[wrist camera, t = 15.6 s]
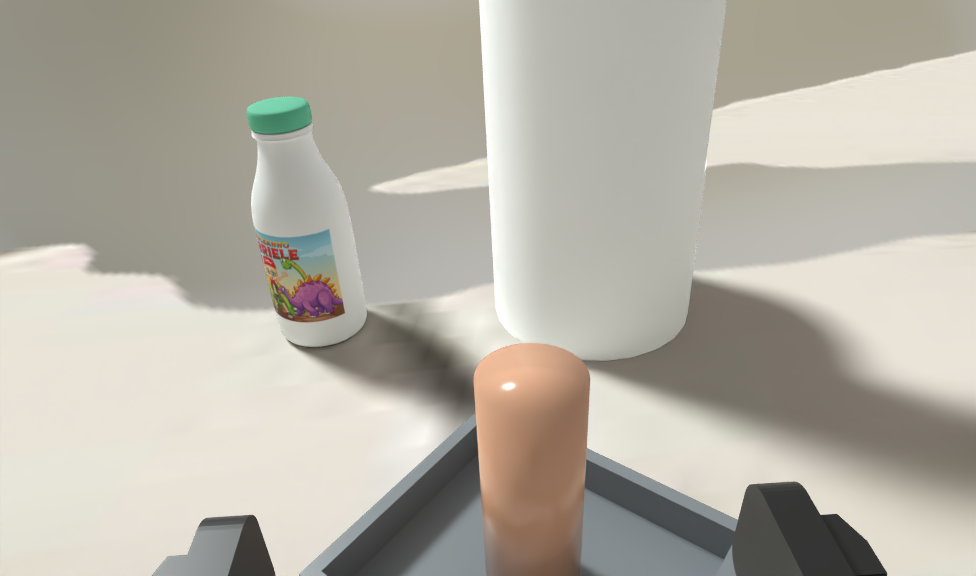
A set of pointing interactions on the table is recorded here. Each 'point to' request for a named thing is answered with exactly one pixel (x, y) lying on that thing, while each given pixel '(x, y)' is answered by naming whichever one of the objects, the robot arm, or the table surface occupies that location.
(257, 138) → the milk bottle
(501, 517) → the pillar candle
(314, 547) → the table surface
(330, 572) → the shallow square tray
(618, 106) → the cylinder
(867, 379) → the table surface
